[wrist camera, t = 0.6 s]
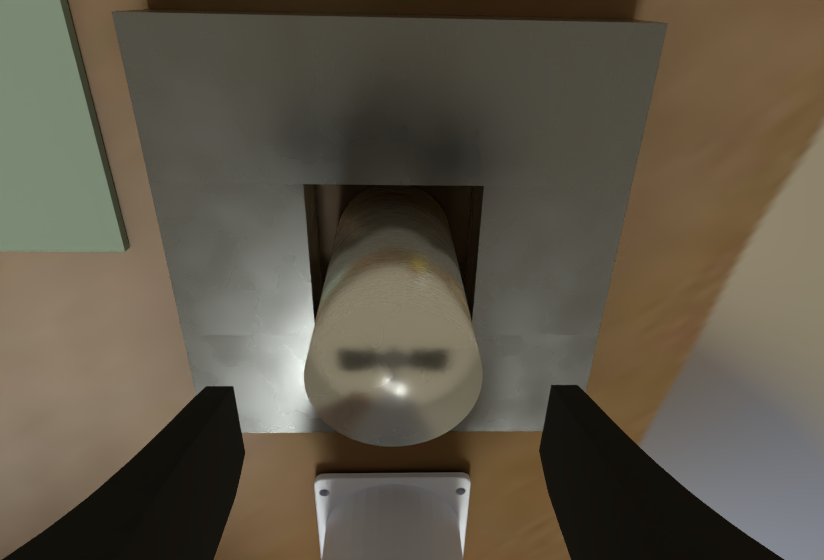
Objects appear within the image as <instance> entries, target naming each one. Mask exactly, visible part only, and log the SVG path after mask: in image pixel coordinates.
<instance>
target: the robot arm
mask: <svg viewBox="0 0 824 560" xmlns="http://www.w3.org/2000/svg"><path fill="white" fill-rule="evenodd" d="M539 452H540V456H541V461H542V466H543V471H544V476H545V480H546V485H547V489H548V493H549V496H550V499H551V502H552V505H553V508H554V511H555V514H556V517H557V520H558V523H559V526H560V529H561V531H562V534H563V537H564V540H565V543H566V546H567V549H568V551H569V554H570V557H571V560H784V559H782V558H781V557H779V556H778V555H776V554H775V553H773V552H772V551H770V550H769V549H768V548H766V547H765V546H763V545H761V544H760V543H759V542H757V541H756V540H754V539H753V538H751V537H749V536H748V535H747V534H745V533H744V532H742V531H741V530H740V529H738V528H737V527H735V526H734V525H732V524H731V523H730V522H728V521H727V520H726V519H724V518H723V517H722V516H720V515H719V514H718V513H716V512H715V511H714V510H713V509H711V508H710V507H709V506H707V505H706V504H705V503H703V502H702V501H701V500H699V499H698V498H697V497H696V496H695V495H693V494H692V493H691V492H690V491H688V490H687V489H686V488H685V487H683V486H682V485H681V484H680V483H679V482H678V481H676V480H675V479H674V478H673V477H672V476H671V475H670V474H668V473H667V472H666V471H665V470H664V469H663V468H661V467H660V466H659V465H658V464H657V463H656V462H655V461H654V460H653V459H652V458H651V457H649V456H648V455H647V454H646V453H645V452H644V451H643V450H642V449H641V448H640V447H639V446H638V445H637V444H636V443H635V442H634V441H633V440H632V439H630V438H629V437H628V436H627V435H626V434H625V433H624V432H623V431H622V430H621V429H620V428H619V427H618V426H617V425H616V424H615V423H614V422H613V421H612V420H611V419H610V418H609V417H608V416H607V415H606V413H605V412H604V411H603V410H602V409H601V408H600V407H599V406H598V405H597V404H596V403H595V402H594V401H593V400H592V399H591V398H590V397H589V396H588V395H587V394H586V393H585V392H584V391H583V390H582V389H581V388H580V387H579V386H578V385H551V389H550V394H549V400H548V405H547V411H546V416H545V422H544V427H543V433H542V438H541V444H540V449H539ZM244 456H245V449H244V444H243V438H242V432H241V427H240V421H239V415H238V410H237V404H236V398H235V393H234V387H233V386H206V387H205V388H204V389H203V390H201V391H200V392H199V393H198V394H197V395H196V396H195V397H194V398H193V399H192V400H191V401H190V402H189V403H188V404H187V405H186V406H185V407H184V408H183V409H182V410H181V411H180V412H179V413H178V414H177V415H176V416H175V418H174V419H173V420H172V421H171V422H170V423H169V424H168V425H167V426H166V427H165V428H164V429H163V430H162V431H160V432H159V433H158V434H157V435H156V436H155V437H154V438H153V439H152V440H151V441H150V442H149V443H148V444H147V445H146V446H145V447H144V448H143V449H142V450H141V451H140V452H139V453H138V454H137V455H136V456H134V457H133V458H132V459H131V460H130V461H129V462H128V463H127V464H126V465H125V466H123V467H122V468H121V469H120V470H119V471H118V472H117V473H116V474H114V475H113V476H112V477H111V478H110V479H109V480H108V481H106V482H105V483H104V484H103V485H102V486H101V487H100V488H99V489H97V490H96V491H95V492H94V493H93V494H91V495H90V496H89V497H88V498H86V499H85V500H84V501H83V502H81V503H80V504H79V505H78V506H76V507H75V508H74V509H73V510H71V511H70V512H69V513H67V514H66V515H65V516H63V517H62V518H61V519H59V520H58V521H57V522H55V523H54V524H53V525H52V526H50V527H49V528H47V529H46V530H45V531H43V532H42V533H41V534H39V535H38V536H36V537H35V538H33V539H32V540H30V541H29V542H27V543H26V544H24V545H23V546H21V547H20V548H19V549H17V550H16V551H14V552H13V553H11V554H10V555H8V556H7V557H5V558H4V559H2V560H213V559H214V556H215V553H216V551H217V548H218V545H219V542H220V539H221V537H222V534H223V531H224V528H225V525H226V522H227V520H228V517H229V514H230V511H231V508H232V505H233V502H234V499H235V496H236V492H237V488H238V484H239V479H240V475H241V470H242V465H243V460H244ZM470 487H471V482H470V476H469V475H468V474H466V473H463V472H432V473H327V474H320V475H318V476H317V477H316V478H315V483H314V490H315V500H316V510H317V521H318V531H319V542H320V552H321V560H463V555H464V545H465V535H466V525H467V516H468V506H469V496H470ZM458 488H460V489H458ZM323 489H326V490H323Z"/></svg>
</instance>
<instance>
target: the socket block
mask: <svg viewBox="0 0 824 560" xmlns="http://www.w3.org/2000/svg"><path fill="white" fill-rule="evenodd" d="M112 15H113V20H114V24H115V29H116V33H117V38H118V42H119V47H120V51H121V56H122V61H123V65H124V70H125V74H126V79H127V83H128V88H129V92H130V97H131V101H132V106H133V110H134V115H135V120H136V124H137V129H138V133H139V138H140V142H141V147H142V151H143V156H144V160H145V165H146V169H147V174H148V179H149V183H150V188H151V192H152V197H153V201H154V206H155V210H156V215H157V219H158V224H159V228H160V233H161V238H162V242H163V247H164V251H165V256H166V260H167V265H168V269H169V274H170V278H171V283H172V287H173V292H174V297H175V301H176V306H177V310H178V315H179V319H180V324H181V328H182V333H183V337H184V342H185V346H186V351H187V356H188V360H189V365H190V369H191V374H192V378H193V383H194V387H195V392H196V395H197V394H198V393H199V392H200V391H201V390H203V389H204V388H205V387H206V386H233V387H234V393H235V398H236V404H237V410H238V415H239V421H240V427H241V432H242V433H304V432H338V431H336V430H334V429H333V428H332V427H330V426H329V425H328V424H327V423H326V422H325V421H324V420H323V419H322V418H321V417H320V416H319V415H318V414H317V412H316V411H315V410H314V408H313V407H312V405H311V403H310V401H309V399H308V396H307V393H306V390H305V384H304V369H305V362H306V358H307V354H308V350H309V346H310V341H311V337H312V333H313V329H314V325H315V321H316V316H317V312H318V308H319V304H320V300H321V295H322V281H321V267H320V252H319V238H318V223H317V209H316V194H315V184H337V185H440V186H472V198H471V212H470V225H469V238H468V251H467V264H466V277H465V290H464V291H465V295H466V300H467V304H468V308H469V312H470V317H471V321H472V325H473V329H474V334H475V338H476V342H477V346H478V351H479V355H480V359H481V364H482V371H483V380H482V386H481V391H480V394H479V397H478V399H477V401H476V403H475V405H474V407H473V408H472V410H471V411H470V412H469V414H468V415H467V416H466V417H465V418H464V419H463V420H462V421H461V422H460V423H459V424H458V425H456V426H455V427H454V428H453V429H451V430H449V431H448V432H452V431H543V427H544V422H545V416H546V411H547V405H548V400H549V394H550V389H551V385H578V386H579V387H580V388H581V389H582V390H583V391H584V392H585V393H586V388H587V384H588V379H589V375H590V370H591V366H592V361H593V357H594V352H595V348H596V343H597V339H598V334H599V330H600V325H601V321H602V316H603V312H604V307H605V303H606V298H607V294H608V289H609V285H610V280H611V276H612V271H613V267H614V262H615V258H616V253H617V249H618V244H619V240H620V235H621V231H622V226H623V222H624V217H625V213H626V208H627V204H628V199H629V195H630V190H631V186H632V181H633V177H634V173H635V168H636V164H637V159H638V155H639V150H640V146H641V141H642V137H643V132H644V128H645V123H646V119H647V114H648V110H649V105H650V101H651V96H652V92H653V87H654V83H655V78H656V74H657V69H658V65H659V60H660V56H661V51H662V47H663V42H664V38H665V33H666V29H667V24H668V23H661V22H652V21H643V20H634V19H588V18H540V17H493V16H445V15H398V14H350V13H303V12H256V11H208V10H161V9H144V10H129V11H114V12H112Z"/></svg>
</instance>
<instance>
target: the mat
mask: <svg viewBox="0 0 824 560" xmlns="http://www.w3.org/2000/svg"><path fill="white" fill-rule="evenodd" d="M128 248H130V247H129V243H128V239H127V235H126V231H125V227H124V224H123V220H122V216H121V212H120V208H119V204H118V200H117V196H116V192H115V188H114V184H113V180H112V176H111V172H110V168H109V164H108V160H107V156H106V153H105V149H104V145H103V141H102V137H101V133H100V129H99V125H98V121H97V117H96V113H95V109H94V105H93V101H92V97H91V93H90V89H89V86H88V82H87V78H86V74H85V70H84V66H83V62H82V58H81V54H80V50H79V46H78V42H77V38H76V34H75V30H74V26H73V22H72V18H71V15H70V11H69V7H68V3H67V0H0V251H75V252H125V251H126V250H127V249H128Z"/></svg>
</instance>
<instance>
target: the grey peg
mask: <svg viewBox="0 0 824 560" xmlns="http://www.w3.org/2000/svg"><path fill="white" fill-rule="evenodd" d="M482 380H483V371H482V364H481V359H480V355H479V351H478V346H477V342H476V338H475V334H474V329H473V325H472V321H471V317H470V312H469V308H468V304H467V300H466V295H465V291H464V287H463V283H462V278H461V274H460V270H459V266H458V262H457V257H456V253H455V249H454V245H453V240H452V236H451V232H450V228H449V224H448V220H447V217H446V215H445V213H444V211H443V209H442V208H441V206H440V205H439V204H438V203H437V201H436V200H435V199H434V198H432V197H431V196H430V195H429V194H427V193H426V192H424V191H423V190H421V189H418V188H416V187H413V186H411V185H377V186H373V187H371V188H369V189H366V190H364V191H363V192H361V193H360V194H358V195H357V196H356V197H355V198H353V199H352V200H351V202H350V203H349V204H348V205H347V207H346V208H345V210H344V211H343V213H342V215H341V218H340V221H339V224H338V228H337V233H336V237H335V241H334V245H333V249H332V254H331V258H330V262H329V266H328V270H327V274H326V279H325V283H324V287H323V291H322V295H321V300H320V304H319V308H318V312H317V316H316V321H315V325H314V329H313V333H312V337H311V341H310V346H309V350H308V354H307V358H306V362H305V369H304V384H305V390H306V393H307V396H308V399H309V401H310V403H311V405H312V407H313V408H314V410H315V411H316V412H317V414H318V415H319V416H320V417H321V418H322V419H323V420H324V421H325V422H326V423H327V424H328V425H329V426H330V427H332V428H333V429H334V430H336V431H338V432H339V433H341V434H343V435H345V436H347V437H349V438H351V439H354V440H356V441H359V442H362V443H367V444H371V445H377V446H388V447H397V446H408V445H415V444H419V443H423V442H426V441H429V440H432V439H434V438H437V437H439V436H441V435H443V434H445V433H446V432H448V431H449V430H451V429H453V428H454V427H455V426H456V425H458V424H459V423H460V422H461V421H462V420H463V419H464V418H465V417H466V416H467V415H468V414H469V412H470V411H471V410H472V408H473V407H474V405H475V403H476V401H477V399H478V397H479V394H480V391H481V386H482Z"/></svg>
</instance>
